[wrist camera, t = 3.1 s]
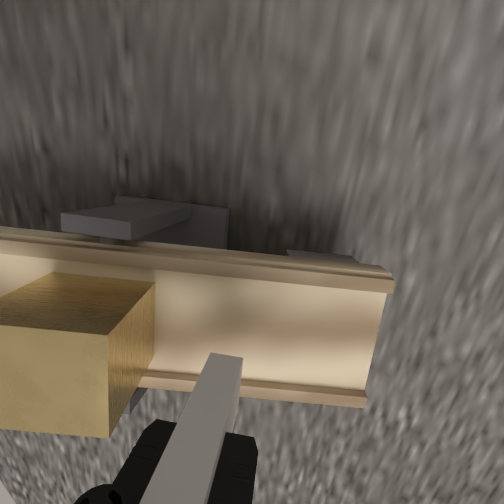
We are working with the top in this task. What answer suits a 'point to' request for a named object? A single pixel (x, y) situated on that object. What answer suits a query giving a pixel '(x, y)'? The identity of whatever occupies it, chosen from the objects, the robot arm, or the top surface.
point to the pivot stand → (152, 229)
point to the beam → (231, 309)
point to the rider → (73, 352)
